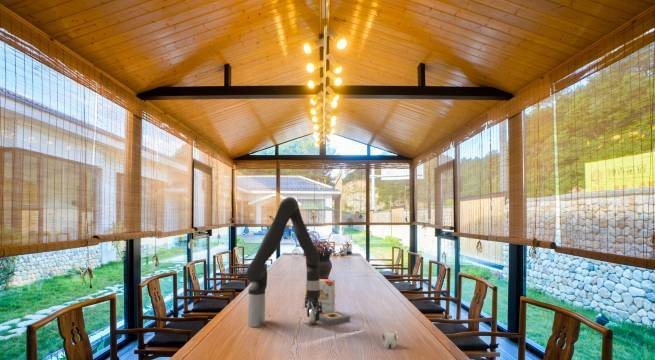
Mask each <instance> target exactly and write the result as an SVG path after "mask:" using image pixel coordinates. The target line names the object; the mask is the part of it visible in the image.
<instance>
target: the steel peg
mask: <svg viewBox="0 0 655 360" xmlns="http://www.w3.org/2000/svg"><path fill="white" fill-rule="evenodd" d="M316 311H317V310H316ZM308 319H309V320H308V322H309V325H311V326H315V325H317V323H318V321H315V311H314V310H313V308H312V309H309V317H308Z"/></svg>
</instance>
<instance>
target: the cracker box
mask: <svg viewBox="0 0 655 360" xmlns="http://www.w3.org/2000/svg"><path fill="white" fill-rule="evenodd" d="M319 281H320V297H319V298H318V301H321V302H322V313H321V314H326V313H331V312H336V311H335V310H336V307H335V306H336V304H335V303H336V302H335V301H336V300H335V299H336V296H335V295H336V293H335V292H336V291H335V290H336V289H335V288H336V287H335V286H336V285H335V283H336V281H335V279H328V278H326V279H324V278H319ZM311 309H312V308H311ZM319 310H320V309H319Z"/></svg>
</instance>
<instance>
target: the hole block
mask: <svg viewBox="0 0 655 360" xmlns="http://www.w3.org/2000/svg"><path fill="white" fill-rule="evenodd" d="M350 321H351V317H350V315H348V314H345V313H343V312H340V311H337V310H336V311H335V312H331V313H326V314H322V313H320V314H319V321H318V323H320V324H322V325H323V324H324V326H332V325H333V326H334V325H336V324H337V325H338V324H342V323H347V322H350Z"/></svg>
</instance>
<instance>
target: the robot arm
mask: <svg viewBox="0 0 655 360" xmlns="http://www.w3.org/2000/svg"><path fill="white" fill-rule="evenodd" d="M289 221H291V224H292V226H293V230H294V234H295V236H296V237H295V238H296V239H297V242H298V244H299V246H300V248H301V250H302V252H303V253H304V255H305V264H306V266H305V267H306V282H305V283H306V285H305V286H306V287H305V293H306V294H305V295H306V296H305V297H304V308H305V309H306V316H307V318H309V309H311V308H313V310H314V311H315V321H317V322H319V315H321V314H322V302H321V301H318V298H319V297H320V281H319V279H320V271H319V263H320V260H321V256H320V254H319V252H318V250H317V248H316V246H315V245H314V242H313V239H312V238H311V235H310V233H309V231H308V229H307V226H306V225H305V223H304V220H303V217H302V213H301V211H300V206H299V204H298V201H297V200H296V198H294V197H290V196H289V197H286V198H284V199H282V200H281V201H280V203H279V205H278V209H277V211H276V214H275V217H274V218H273V221H272V223H270V225H269V227H268V229H267V231H266V233H265V234H264V236H263V238H262V241H261V243H260V246H259V247H258V249H257V252H256V254H255V255H254V257H253V258H252V261H251V262H250V264H249V265H248V267H247V268H246V271H245V275H246V280H247V281H248V282H250V283H251V285H250V287H249V288H248V296H247V297H248V302H247V303H248V305H247V306H248V307H247V308H248V310H247V312H248V313H247V314H248V315H247V316H248V317H247V319H248V320H247V326H248V327H250V328H258V327H259V328H260V327H263V326H265V324H266V290H267V286H268V270H267V269H268V268H267V266H266V265H265V264H266V263H267V262H268V260H269V259H270V258H271V257H272V255H274V253H275V252H276V251H277V249H278V248H279V246H280V243H281V242H282V239H283V237H284V234H285V229H286V226H287V224H288V223H289ZM319 309H320V310H319ZM316 310H317V311H316Z"/></svg>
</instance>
